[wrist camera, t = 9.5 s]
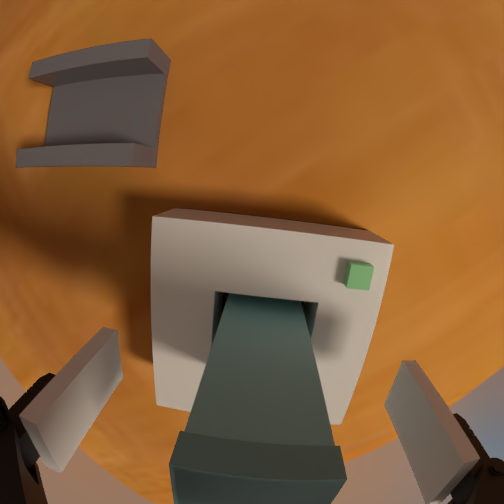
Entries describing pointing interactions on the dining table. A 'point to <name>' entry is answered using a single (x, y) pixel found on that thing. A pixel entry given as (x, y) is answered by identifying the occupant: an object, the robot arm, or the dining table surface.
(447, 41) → the dining table surface
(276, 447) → the plug
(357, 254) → the port
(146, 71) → the grey u-shaped block
